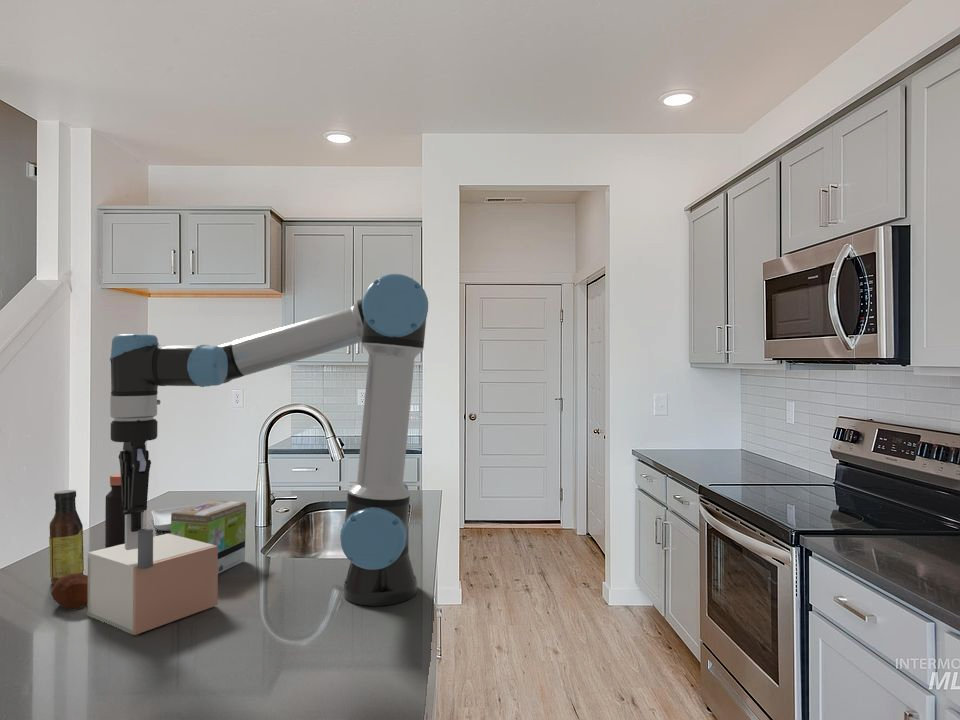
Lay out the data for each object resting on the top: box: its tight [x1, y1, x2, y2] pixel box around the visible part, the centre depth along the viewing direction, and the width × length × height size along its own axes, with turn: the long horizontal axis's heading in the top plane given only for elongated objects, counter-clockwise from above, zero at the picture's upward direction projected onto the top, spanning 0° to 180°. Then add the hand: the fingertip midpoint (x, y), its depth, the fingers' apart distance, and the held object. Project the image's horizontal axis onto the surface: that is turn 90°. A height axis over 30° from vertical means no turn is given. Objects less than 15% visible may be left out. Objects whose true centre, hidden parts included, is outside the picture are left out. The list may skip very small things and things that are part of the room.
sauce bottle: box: [48, 489, 85, 586], centre depth 138 cm, size 7×6×20 cm
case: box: [87, 533, 215, 636], centre depth 122 cm, size 16×16×12 cm
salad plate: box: [151, 504, 196, 532], centre depth 190 cm, size 21×21×3 cm
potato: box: [51, 573, 88, 610], centre depth 124 cm, size 7×9×6 cm
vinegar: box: [104, 473, 125, 549], centre depth 158 cm, size 7×7×20 cm
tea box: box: [170, 499, 247, 575], centre depth 146 cm, size 15×10×15 cm, turn 168°
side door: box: [133, 527, 219, 636], centre depth 117 cm, size 16×2×18 cm, turn 148°
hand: (134, 547), depth 114 cm, fingers closed
